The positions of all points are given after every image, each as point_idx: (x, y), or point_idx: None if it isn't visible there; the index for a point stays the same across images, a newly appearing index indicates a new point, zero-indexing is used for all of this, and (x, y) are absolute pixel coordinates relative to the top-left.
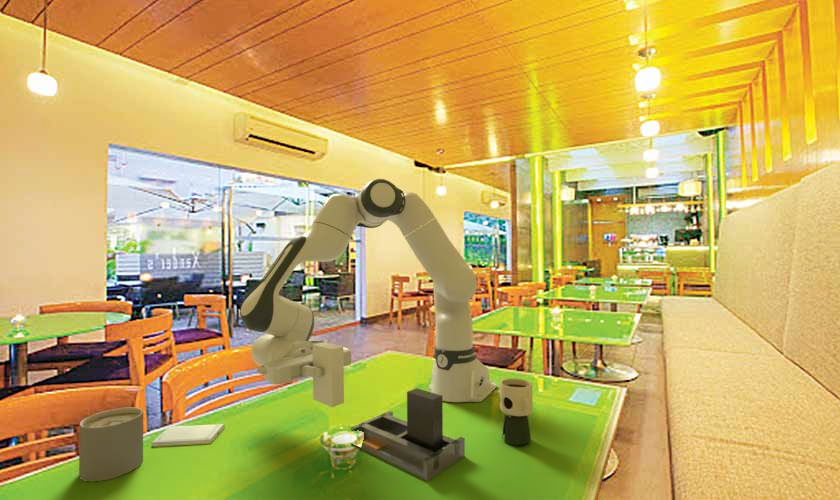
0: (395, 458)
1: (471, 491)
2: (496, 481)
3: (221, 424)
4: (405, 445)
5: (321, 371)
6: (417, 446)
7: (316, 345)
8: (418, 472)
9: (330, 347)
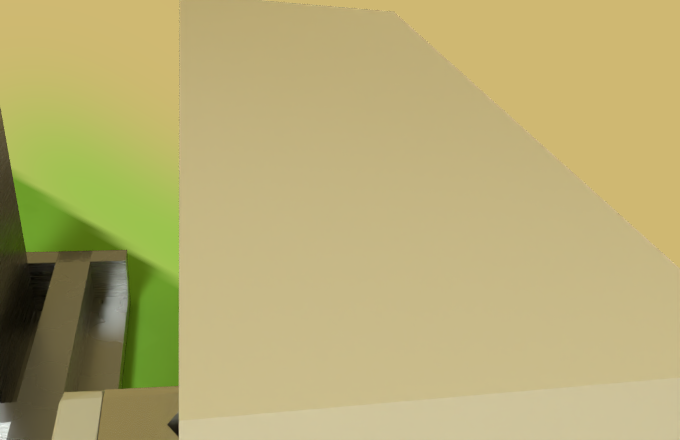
0: None
1: (94, 230)
2: None
3: None
4: (74, 341)
5: None
6: (51, 313)
7: (615, 216)
8: (127, 313)
9: (369, 38)
